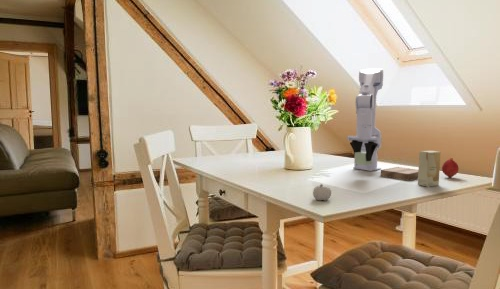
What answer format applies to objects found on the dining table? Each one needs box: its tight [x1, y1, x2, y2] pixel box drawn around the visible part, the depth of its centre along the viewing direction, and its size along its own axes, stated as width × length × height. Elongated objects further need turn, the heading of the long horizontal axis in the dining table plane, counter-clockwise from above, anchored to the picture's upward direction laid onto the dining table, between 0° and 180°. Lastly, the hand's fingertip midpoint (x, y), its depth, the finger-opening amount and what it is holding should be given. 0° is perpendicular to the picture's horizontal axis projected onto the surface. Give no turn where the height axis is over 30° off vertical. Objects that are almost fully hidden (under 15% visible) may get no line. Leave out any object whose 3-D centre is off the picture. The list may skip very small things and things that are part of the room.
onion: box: [441, 157, 460, 179], centre depth 154 cm, size 6×6×8 cm
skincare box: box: [417, 150, 442, 188], centre depth 140 cm, size 6×4×12 cm
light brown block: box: [380, 166, 419, 181], centre depth 158 cm, size 12×12×2 cm
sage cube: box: [354, 152, 372, 165], centre depth 154 cm, size 4×4×4 cm
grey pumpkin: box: [312, 183, 332, 201], centre depth 120 cm, size 6×5×5 cm
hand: (363, 160), depth 154 cm, fingers closed on sage cube, 4 cm apart
